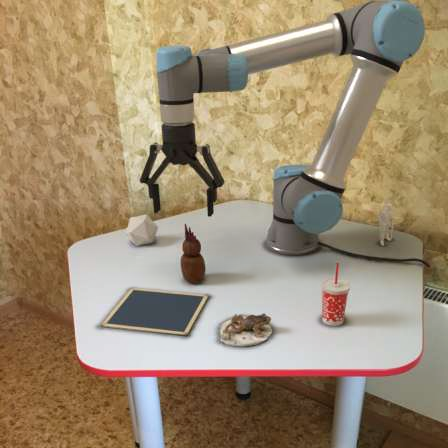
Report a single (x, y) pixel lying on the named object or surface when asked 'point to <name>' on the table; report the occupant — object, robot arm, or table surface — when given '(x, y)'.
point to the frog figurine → (245, 330)
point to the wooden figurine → (192, 259)
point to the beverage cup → (334, 299)
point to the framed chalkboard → (156, 311)
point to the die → (141, 230)
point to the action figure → (385, 223)
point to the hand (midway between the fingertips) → (183, 213)
